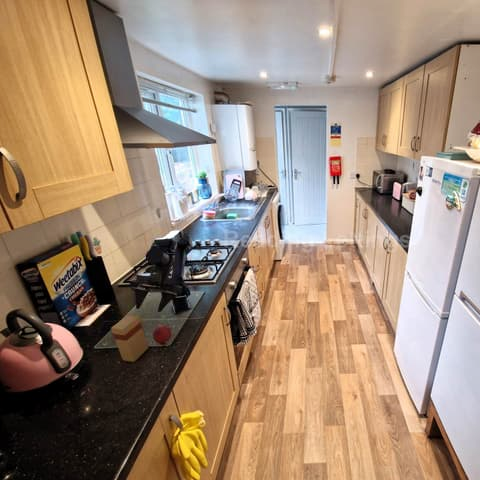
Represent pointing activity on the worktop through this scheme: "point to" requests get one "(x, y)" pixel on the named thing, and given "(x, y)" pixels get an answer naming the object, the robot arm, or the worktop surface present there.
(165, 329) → the onion
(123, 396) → the worktop surface
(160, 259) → the robot arm
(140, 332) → the box
